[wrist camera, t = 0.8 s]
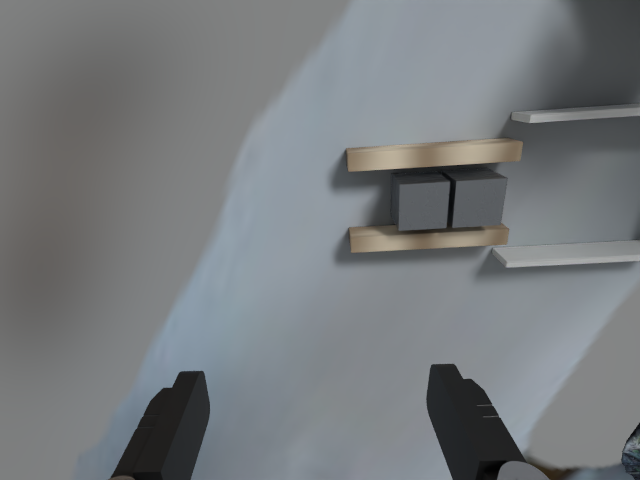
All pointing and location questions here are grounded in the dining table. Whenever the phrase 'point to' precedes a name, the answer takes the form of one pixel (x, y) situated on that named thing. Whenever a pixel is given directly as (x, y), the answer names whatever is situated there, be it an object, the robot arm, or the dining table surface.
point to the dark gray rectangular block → (419, 200)
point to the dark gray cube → (475, 197)
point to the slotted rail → (428, 157)
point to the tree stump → (632, 454)
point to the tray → (575, 251)
